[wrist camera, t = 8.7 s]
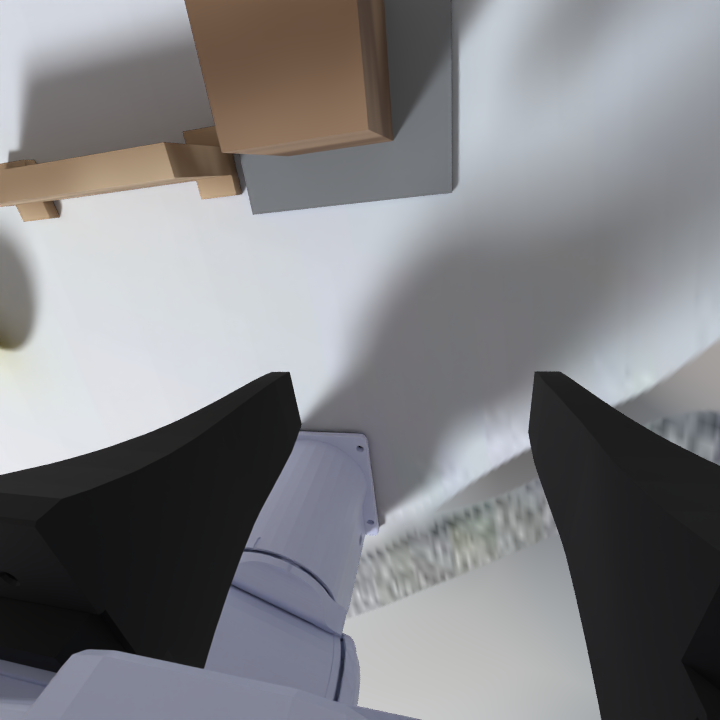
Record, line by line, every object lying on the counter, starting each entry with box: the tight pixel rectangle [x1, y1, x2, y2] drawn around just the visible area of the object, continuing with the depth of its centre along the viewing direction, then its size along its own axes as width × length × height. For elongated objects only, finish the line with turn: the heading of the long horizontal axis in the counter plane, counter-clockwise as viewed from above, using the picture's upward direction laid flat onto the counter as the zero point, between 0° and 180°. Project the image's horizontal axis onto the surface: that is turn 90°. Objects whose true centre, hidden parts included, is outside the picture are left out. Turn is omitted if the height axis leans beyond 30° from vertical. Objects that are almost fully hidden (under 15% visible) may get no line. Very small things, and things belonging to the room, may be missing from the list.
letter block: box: [184, 0, 393, 156], centre depth 13 cm, size 5×5×6 cm
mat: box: [239, 0, 452, 214], centre depth 16 cm, size 10×10×1 cm
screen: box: [0, 126, 242, 222], centre depth 18 cm, size 3×14×5 cm, turn 98°
